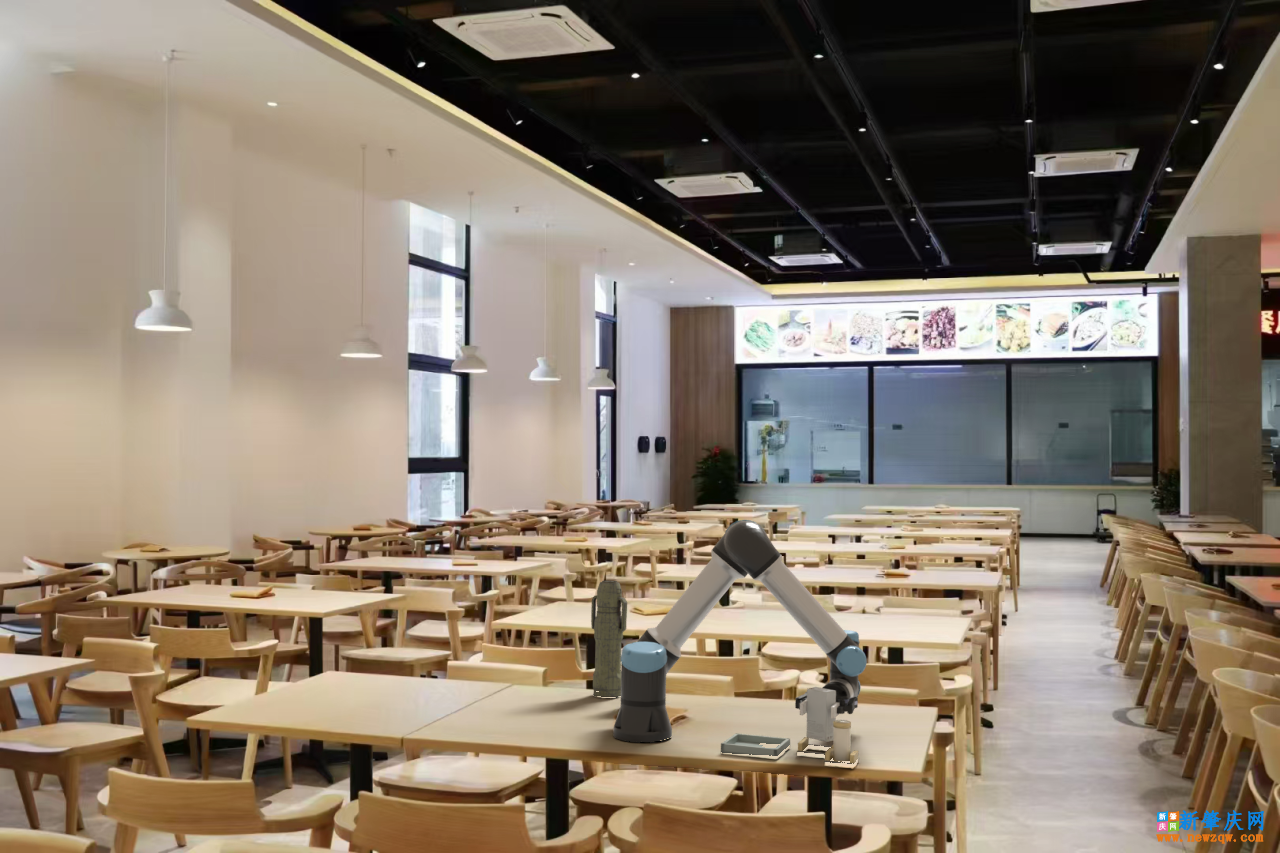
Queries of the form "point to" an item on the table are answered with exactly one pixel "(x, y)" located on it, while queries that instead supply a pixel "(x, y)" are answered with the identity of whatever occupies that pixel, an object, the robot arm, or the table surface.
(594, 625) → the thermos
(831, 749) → the cream flat frame
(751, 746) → the tray
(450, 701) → the table surface
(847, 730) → the fuse
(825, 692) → the skincare box
